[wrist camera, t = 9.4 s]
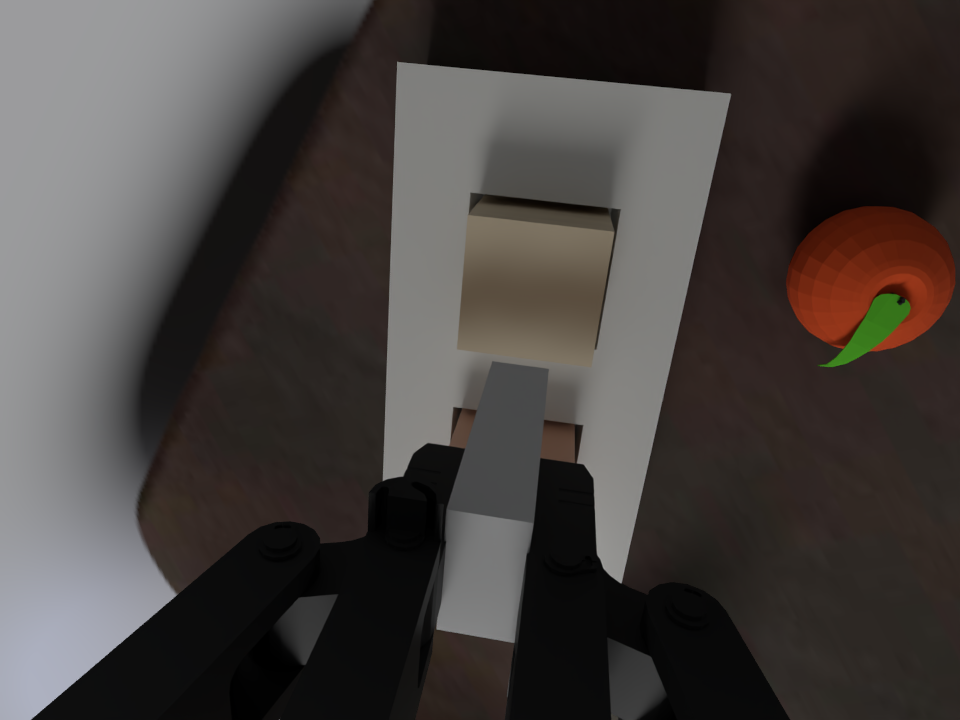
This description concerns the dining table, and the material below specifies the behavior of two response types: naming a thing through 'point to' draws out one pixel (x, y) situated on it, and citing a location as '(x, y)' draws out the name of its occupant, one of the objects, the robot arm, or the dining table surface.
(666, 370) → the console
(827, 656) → the dining table surface
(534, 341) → the beige cube
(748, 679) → the robot arm
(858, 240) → the clementine
